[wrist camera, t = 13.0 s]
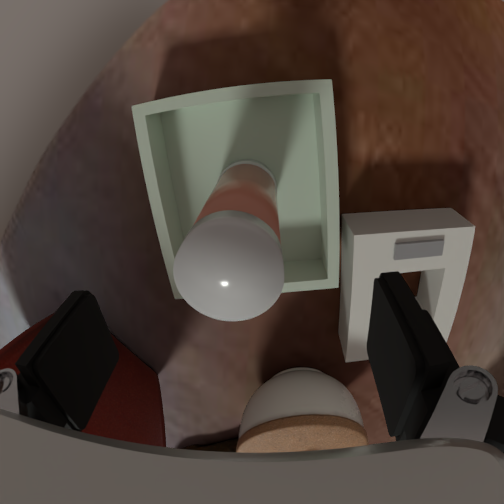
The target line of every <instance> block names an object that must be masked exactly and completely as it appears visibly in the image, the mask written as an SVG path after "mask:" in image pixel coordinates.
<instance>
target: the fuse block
mask: <svg viewBox="0 0 504 504" xmlns="http://www.w3.org/2000/svg"><path fill="white" fill-rule="evenodd" d="M474 231H475V226H474V225H473V224H472V223H470V222H469V221H468V220H466V219H465V218H464V217H463V216H461V215H460V214H459V213H457V212H456V211H455V210H453V209H452V208H436V209H415V210H397V211H380V212H364V213H349V214H342V253H341V290H340V312H339V329H338V334H339V338H340V342H341V346H342V350H343V355H344V359H345V363H346V362H354V361H362V360H369V358H368V354H367V337H368V330H369V322H370V314H371V305H372V295H373V285H374V279H375V278H379V276H380V274H381V273H384V272H395V271H398V272H399V273H406V272H415V271H421V276H420V282H419V288H418V293H417V296H416V297H415V298H416V300H417V302H418V303H419V305H420V307H421V308H422V310H424V309H425V310H427V311H428V312H429V314H430V315H431V317H432V319H433V320H434V322H435V324H436V326H437V327H438V329H439V331H440V332H441V334H442V336H443V338H444V340H445V341H446V342H447V339H448V336H449V333H450V330H451V327H452V324H453V321H454V317H455V314H456V311H457V307H458V304H459V300H460V296H461V292H462V288H463V284H464V280H465V276H466V272H467V267H468V263H469V258H470V253H471V248H472V243H473V237H474Z"/></svg>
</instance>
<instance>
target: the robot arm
mask: <svg viewBox="0 0 504 504" xmlns="http://www.w3.org/2000/svg"><path fill="white" fill-rule="evenodd" d="M367 354H368V358H369V361H370V365H371V368H372V371H373V375H374V379H375V382H376V386H377V389H378V393H379V397H380V400H381V404H382V408H383V412H384V416H385V420H386V424H387V428H388V432H389V435H390V436H391V437H393V436H395V437H396V441H395V442H388V443H379V444H371V445H364V446H357V447H348V448H338V449H327V450H314V451H298V452H272V453H241V452H215V451H199V450H187V449H177V448H168V447H160V446H152V445H145V444H139V443H133V442H127V441H121V440H116V439H111V438H106V437H101V436H96V435H92V434H87V433H83V432H81V431H82V430H84V429H85V428H86V426H87V424H88V422H89V420H90V418H91V415H92V413H93V411H94V409H95V407H96V405H97V403H98V401H99V399H100V397H101V395H102V392H103V390H104V388H105V386H106V384H107V382H108V380H109V378H110V376H111V374H112V372H113V370H114V368H115V366H116V364H117V362H118V360H119V352H118V349H117V347H116V345H115V343H114V340H113V338H112V336H111V334H110V331H109V329H108V327H107V325H106V322H105V320H104V318H103V315H102V313H101V310H100V308H99V305H98V303H97V300H96V298H95V296H94V295H92V294H91V293H90V292H89V291H74V292H72V293H71V295H70V296H69V297H68V298H67V299H66V300H65V302H64V303H63V304H62V305H61V306H60V307H59V309H58V310H57V311H56V312H55V313H54V315H53V316H52V317H51V318H50V319H49V321H48V322H47V323H46V324H45V325H44V327H43V328H42V329H41V330H40V332H39V333H38V334H37V335H36V337H35V338H34V339H33V340H32V342H31V343H30V344H29V346H28V347H27V348H26V349H25V351H24V352H23V353H22V355H21V356H20V357H19V359H18V360H17V361H16V363H15V365H16V367H17V368H18V370H19V371H20V373H19V375H17V373H16V372H15V371H14V370H13V369H10V368H5V369H2V370H0V504H504V397H502V396H499V395H498V386H497V383H496V380H495V379H494V377H493V376H492V375H491V374H490V373H489V372H488V371H487V370H485V369H483V368H480V367H477V366H463V367H459V365H458V363H457V361H456V360H455V358H454V356H453V354H452V352H451V350H450V349H449V347H448V345H447V343H446V341H445V340H444V338H443V336H442V334H441V332H440V331H439V329H438V327H437V326H436V324H435V322H434V320H433V319H432V317H431V315H430V314H429V312H428V311H427V310H425V309H424V310H422V308H421V307H420V305H419V303H418V302H417V300H416V298H415V297H414V295H413V293H412V292H411V290H410V288H409V287H408V285H407V284H406V282H405V280H404V279H403V277H402V276H401V274H400V273H399V272H398V271H395V272H384V273H381V274H380V276H379V278H375V279H374V285H373V295H372V305H371V314H370V322H369V330H368V337H367Z"/></svg>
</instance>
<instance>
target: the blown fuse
mask: <svg viewBox="0 0 504 504" xmlns="http://www.w3.org/2000/svg"><path fill="white" fill-rule="evenodd" d="M173 275H174V280H175V284H176V286H177V289H178V291H179V293H180V294H181V296H182V297H183V298H184V300H185V301H186V302H187V303H188V304H189V305H190V306H191V307H193V308H194V309H195V310H197V311H198V312H200V313H202V314H204V315H206V316H208V317H211V318H214V319H218V320H223V321H242V320H247V319H251V318H254V317H256V316H258V315H260V314H262V313H264V312H265V311H267V310H268V309H269V308H270V307H271V306H272V305H273V304H274V303H275V302H276V301H277V299H278V298H279V296H280V294H281V292H282V289H283V285H284V263H283V252H282V247H281V241H280V229H279V217H278V205H277V186H276V180H275V177H274V175H273V173H272V171H271V170H270V169H269V168H268V167H267V166H266V165H265V164H263V163H262V162H260V161H257V160H253V159H240V160H237V161H234V162H232V163H231V164H229V165H228V166H227V167H226V168H225V169H224V170H223V172H222V173H221V175H220V177H219V179H218V181H217V183H216V185H215V187H214V189H213V191H212V192H211V194H210V196H209V198H208V199H207V201H206V203H205V205H204V207H203V208H202V210H201V212H200V214H199V216H198V217H197V219H196V221H195V223H194V225H193V226H192V228H191V229H190V230H189V232H188V233H187V235H186V237H185V239H184V241H183V242H182V244H181V246H180V248H179V250H178V252H177V254H176V257H175V260H174V266H173Z"/></svg>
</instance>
